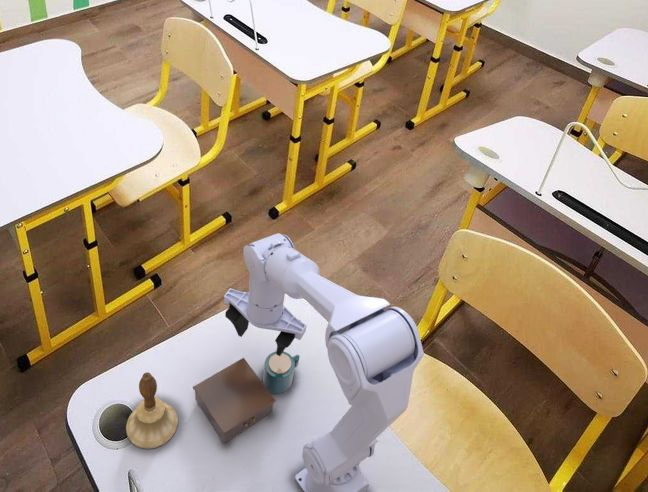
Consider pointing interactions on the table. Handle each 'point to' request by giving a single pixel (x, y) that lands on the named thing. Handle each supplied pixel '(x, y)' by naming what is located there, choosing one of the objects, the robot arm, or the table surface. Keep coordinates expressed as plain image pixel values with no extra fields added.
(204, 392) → the brown wooden box
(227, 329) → the table surface
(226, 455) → the table surface
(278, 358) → the cup
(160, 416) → the hand bell
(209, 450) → the table surface
